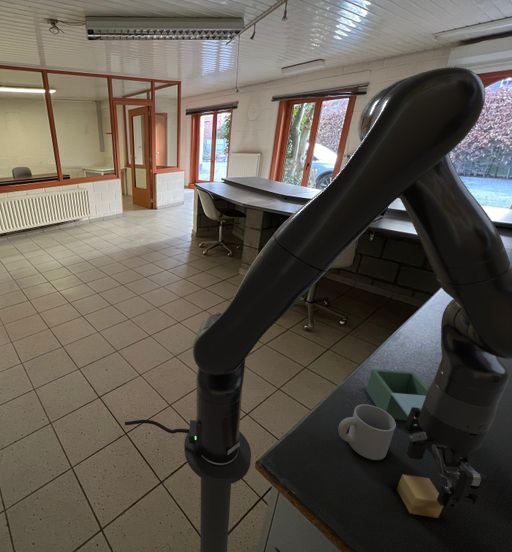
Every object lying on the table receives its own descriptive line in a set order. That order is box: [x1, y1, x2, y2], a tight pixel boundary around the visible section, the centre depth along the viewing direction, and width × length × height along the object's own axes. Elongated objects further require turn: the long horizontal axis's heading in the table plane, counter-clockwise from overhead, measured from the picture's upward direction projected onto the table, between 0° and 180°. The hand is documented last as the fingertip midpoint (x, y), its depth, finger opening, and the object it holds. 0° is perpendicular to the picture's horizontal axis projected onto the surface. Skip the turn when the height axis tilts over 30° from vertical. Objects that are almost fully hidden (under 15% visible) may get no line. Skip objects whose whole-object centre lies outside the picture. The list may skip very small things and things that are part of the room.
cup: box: [337, 403, 397, 461], centre depth 66 cm, size 7×10×9 cm
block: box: [396, 474, 444, 519], centre depth 55 cm, size 4×4×4 cm
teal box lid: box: [391, 393, 426, 425], centre depth 64 cm, size 10×10×5 cm
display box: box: [365, 368, 429, 421], centre depth 76 cm, size 10×10×8 cm
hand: (428, 479), depth 54 cm, fingers open, 8 cm apart
